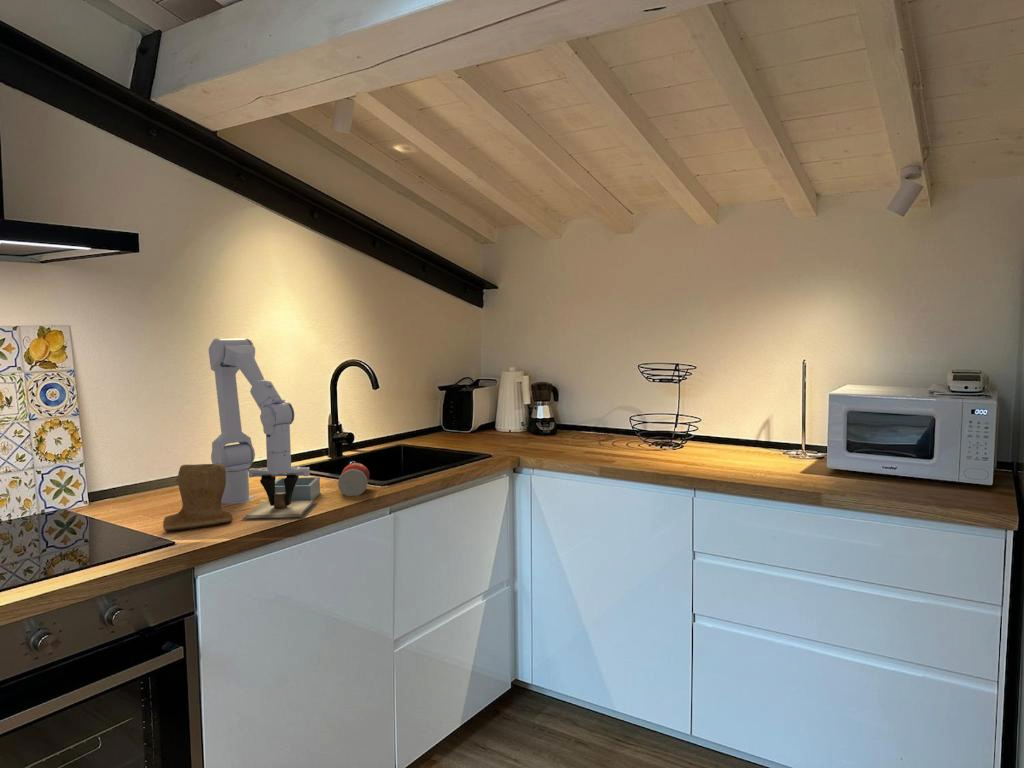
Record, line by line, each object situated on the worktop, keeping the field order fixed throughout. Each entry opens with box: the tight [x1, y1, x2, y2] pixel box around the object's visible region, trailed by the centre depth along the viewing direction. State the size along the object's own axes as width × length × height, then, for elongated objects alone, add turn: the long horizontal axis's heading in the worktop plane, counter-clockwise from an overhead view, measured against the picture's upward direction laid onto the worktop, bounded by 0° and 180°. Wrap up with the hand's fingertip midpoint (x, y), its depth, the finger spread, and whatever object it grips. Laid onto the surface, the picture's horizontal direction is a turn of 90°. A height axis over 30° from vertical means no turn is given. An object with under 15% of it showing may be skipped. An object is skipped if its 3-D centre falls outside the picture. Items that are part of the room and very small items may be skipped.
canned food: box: [337, 462, 370, 497], centre depth 194 cm, size 8×8×11 cm
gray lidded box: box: [267, 476, 321, 501], centre depth 186 cm, size 11×11×5 cm
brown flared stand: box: [162, 463, 233, 532], centre depth 162 cm, size 15×12×15 cm
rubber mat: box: [240, 502, 318, 522], centre depth 173 cm, size 15×15×1 cm
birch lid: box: [245, 492, 314, 518], centre depth 172 cm, size 13×13×4 cm
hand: (280, 504), depth 172 cm, fingers closed on birch lid, 3 cm apart
